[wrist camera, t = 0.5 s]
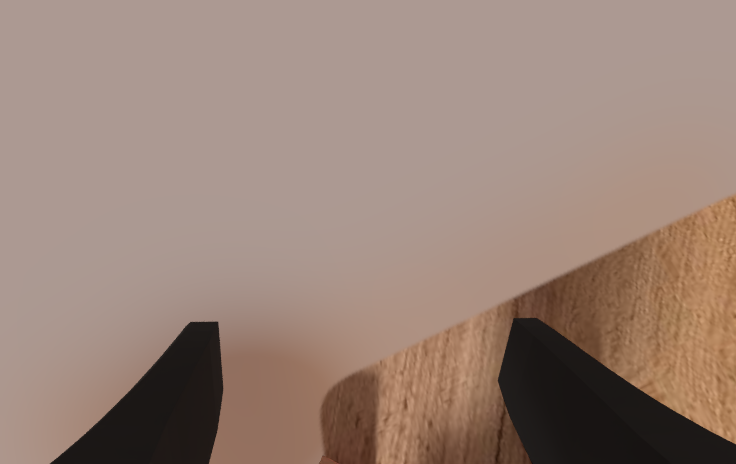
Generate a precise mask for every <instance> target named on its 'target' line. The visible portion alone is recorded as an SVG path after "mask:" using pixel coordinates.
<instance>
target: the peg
mask: <svg viewBox="0 0 736 464" xmlns="http://www.w3.org/2000/svg"><path fill="white" fill-rule="evenodd" d="M319 464H339V463H337V462H335V461H333V460H331V459H329V458H327V457H325V456H322V459H321V461H320V463H319Z"/></svg>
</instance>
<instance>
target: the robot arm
mask: <svg viewBox="0 0 736 464" xmlns="http://www.w3.org/2000/svg"><path fill="white" fill-rule="evenodd" d="M221 366H222V365H221V352H220V339H219V327H218V322H190V323H189V324H188V325H187V326H186V327H185V328H184V329H183V331H182V332H181V333H180V334H179V336H178V337H177V338H176V339H175V340H174V342H173V343H172V344H171V346H169V348H168V349H167V350H166V351H165V352H164V354H163V355H162V356H161V357H160V358H159V359H158V361H157V362H156V363H155V364H154V365H153V366H152V367H151V369H149V370H148V372H147V373H146V374H145V375H144V376H143V377H142V378H141V379H140V380H139V381H138V383H137V384H136V385H135V386H134V387H133V388H132V389H131V390H130V391H129V392H128V393H127V394H126V395H125V396H124V397H123V398H122V399H121V400H120V401H119V402H118V403H117V404H116V405H115V406H114V407H113V408H112V409H111V410H110V411H109V412H108V413H107V414H106V415H105V416H104V417H103V418H102V419H101V420H100V421H99V422H98V423H96V424H95V425H94V426H93V427H92V428H91V429H90V430H89V431H88V432H87V433H86V434H84V436H82V437H81V438H80V439H79V440H78V441H77V442H75V443H74V444H73V445H72V446H71V447H69V448H68V449H67V450H66V451H65V452H64V453H62V454H61V455H60V456H59V457H58V458H56V459H55V460H54V461H53V462H51V463H50V464H209V460H210V457H211V453H212V449H213V445H214V441H215V437H216V434H217V429H218V423H219V416H220V409H221V402H222V394H223V380H222V379H223V378H222V367H221ZM498 383H499V386H500V389H501V392H502V395H503V398H504V401H505V404H506V407H507V410H508V413H509V416H510V418H511V420H512V423H513V425H514V427H515V429H516V431H517V433H518V435H519V437H520V439H521V441H522V443H523V446H524V448H525V450H526V452H527V454H528V456H529V458H530V460H531V462H532V464H736V444H734V443H732V442H730V441H728V440H726V439H724V438H722V437H720V436H718V435H716V434H714V433H713V432H711V431H709V430H707V429H705V428H703V427H702V426H700V425H698V424H696V423H694V422H693V421H691V420H689V419H687V418H686V417H684V416H682V415H680V414H678V413H677V412H675V411H673V410H672V409H670V408H668V407H667V406H665V405H663V404H662V403H660V402H658V401H657V400H655V399H654V398H652V397H650V396H649V395H647V394H646V393H644V392H643V391H641V390H640V389H638V388H636V387H635V386H633V385H632V384H630V383H629V382H627V381H626V380H624V379H623V378H621V377H620V376H618V375H617V374H616V373H614V372H613V371H611V370H610V369H608V368H607V367H605V366H604V365H603V364H601V363H600V362H598V361H597V360H596V359H594V358H593V357H591V356H590V355H589V354H587V353H586V352H584V351H583V350H582V349H580V348H579V347H578V346H576V345H575V344H573V343H572V342H571V341H569V340H568V339H567V338H565V337H564V336H562V335H561V334H560V333H558V332H557V331H555V330H554V329H552V328H551V327H550V326H548V325H547V324H545V323H544V322H542V321H540V320H539V319H537V318H514V319H513V323H512V327H511V331H510V335H509V339H508V342H507V346H506V350H505V354H504V358H503V362H502V366H501V370H500V374H499V378H498Z"/></svg>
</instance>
